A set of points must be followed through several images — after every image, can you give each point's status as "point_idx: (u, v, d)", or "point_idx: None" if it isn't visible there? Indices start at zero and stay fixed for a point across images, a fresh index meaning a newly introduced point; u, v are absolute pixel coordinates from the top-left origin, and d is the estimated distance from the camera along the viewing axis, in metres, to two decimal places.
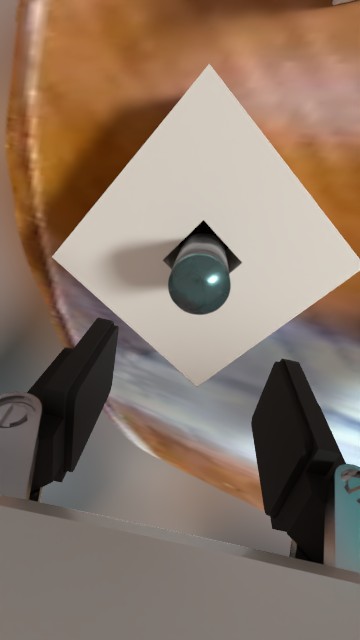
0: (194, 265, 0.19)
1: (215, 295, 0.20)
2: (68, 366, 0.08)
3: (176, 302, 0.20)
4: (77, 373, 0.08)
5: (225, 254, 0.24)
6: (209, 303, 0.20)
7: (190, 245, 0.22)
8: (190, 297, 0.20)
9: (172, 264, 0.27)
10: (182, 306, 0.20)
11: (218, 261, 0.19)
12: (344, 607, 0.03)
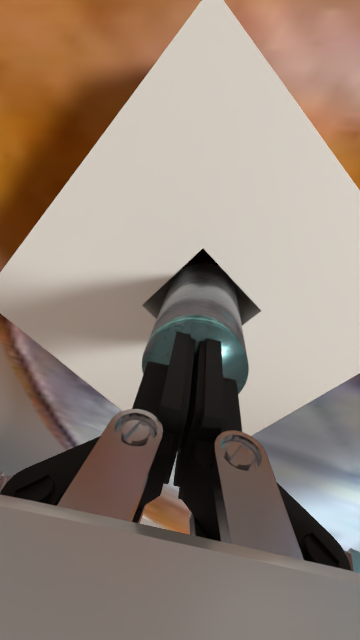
0: None
1: None
2: (172, 382, 0.08)
3: None
4: (183, 390, 0.08)
5: (236, 299, 0.16)
6: None
7: (182, 290, 0.14)
8: None
9: (158, 308, 0.18)
10: None
11: (228, 331, 0.11)
12: (344, 607, 0.03)
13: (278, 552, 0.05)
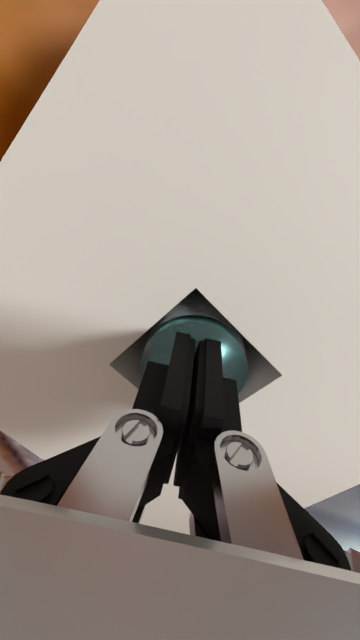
0: None
1: None
2: (172, 382, 0.08)
3: None
4: (183, 390, 0.08)
5: None
6: None
7: None
8: None
9: (134, 362, 0.13)
10: None
11: (227, 331, 0.11)
12: (344, 607, 0.03)
13: (278, 552, 0.05)
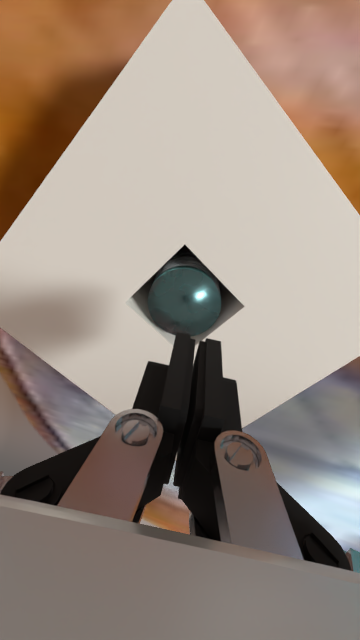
0: (177, 280, 0.16)
1: (203, 315, 0.17)
2: (172, 382, 0.08)
3: (158, 322, 0.17)
4: (183, 390, 0.08)
5: None
6: (196, 323, 0.17)
7: (174, 254, 0.19)
8: (174, 317, 0.17)
9: (142, 305, 0.18)
10: (165, 327, 0.17)
11: (206, 275, 0.16)
12: (344, 607, 0.03)
13: (278, 552, 0.05)
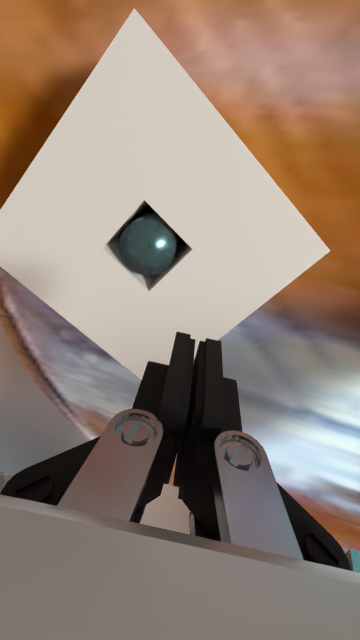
0: (140, 229, 0.21)
1: (161, 257, 0.22)
2: (172, 382, 0.08)
3: (128, 264, 0.22)
4: (183, 390, 0.08)
5: None
6: (157, 264, 0.22)
7: (142, 215, 0.24)
8: (140, 259, 0.22)
9: (116, 253, 0.23)
10: (133, 268, 0.23)
11: (162, 224, 0.21)
12: (344, 607, 0.03)
13: (278, 552, 0.05)
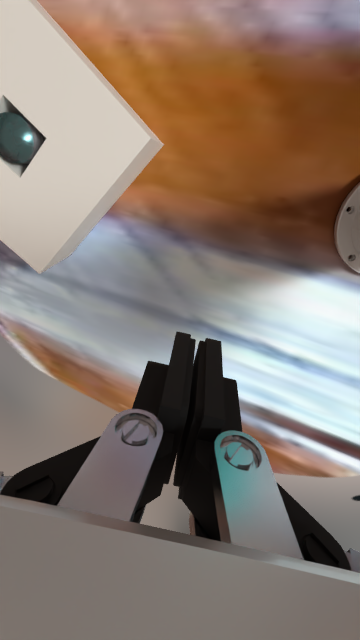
0: (4, 120, 0.27)
1: (24, 145, 0.28)
2: (172, 382, 0.08)
3: (0, 153, 0.28)
4: (183, 390, 0.08)
5: None
6: (22, 152, 0.28)
7: None
8: (8, 148, 0.28)
9: None
10: (4, 156, 0.28)
11: (21, 117, 0.27)
12: (344, 607, 0.03)
13: (278, 552, 0.05)
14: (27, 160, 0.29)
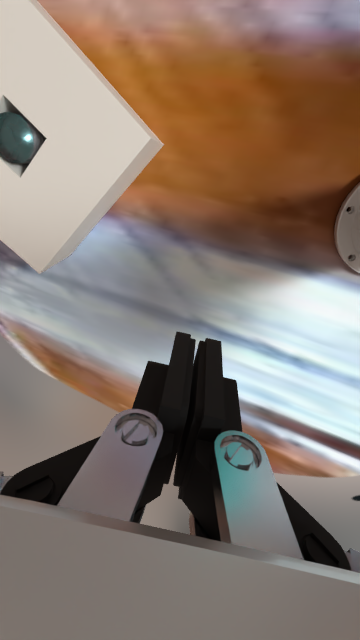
0: (4, 120, 0.27)
1: (24, 145, 0.28)
2: (172, 382, 0.08)
3: (0, 153, 0.28)
4: (183, 390, 0.08)
5: None
6: (22, 152, 0.28)
7: None
8: (8, 148, 0.28)
9: None
10: (5, 156, 0.28)
11: (21, 117, 0.27)
12: (344, 607, 0.03)
13: (278, 552, 0.05)
14: (27, 160, 0.29)
